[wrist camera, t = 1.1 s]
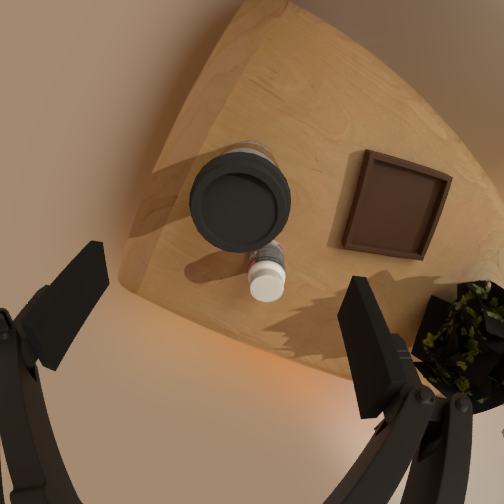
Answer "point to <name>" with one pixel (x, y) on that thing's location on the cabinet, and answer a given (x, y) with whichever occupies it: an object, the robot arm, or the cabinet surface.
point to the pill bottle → (267, 272)
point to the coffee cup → (240, 199)
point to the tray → (395, 207)
